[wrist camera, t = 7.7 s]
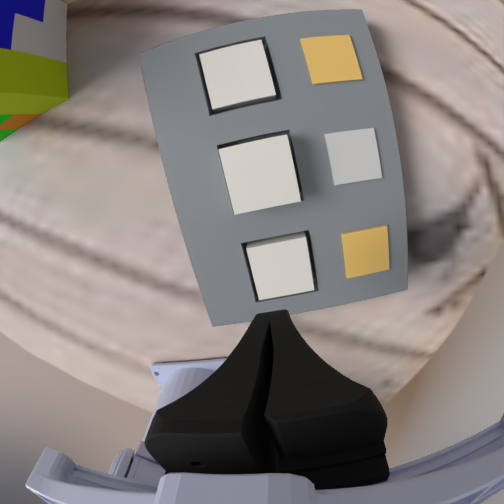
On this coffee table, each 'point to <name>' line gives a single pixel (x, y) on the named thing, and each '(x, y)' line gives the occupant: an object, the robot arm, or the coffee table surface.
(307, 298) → the button board
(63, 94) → the puzzle toy
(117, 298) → the coffee table surface
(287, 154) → the button middle
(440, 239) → the coffee table surface
